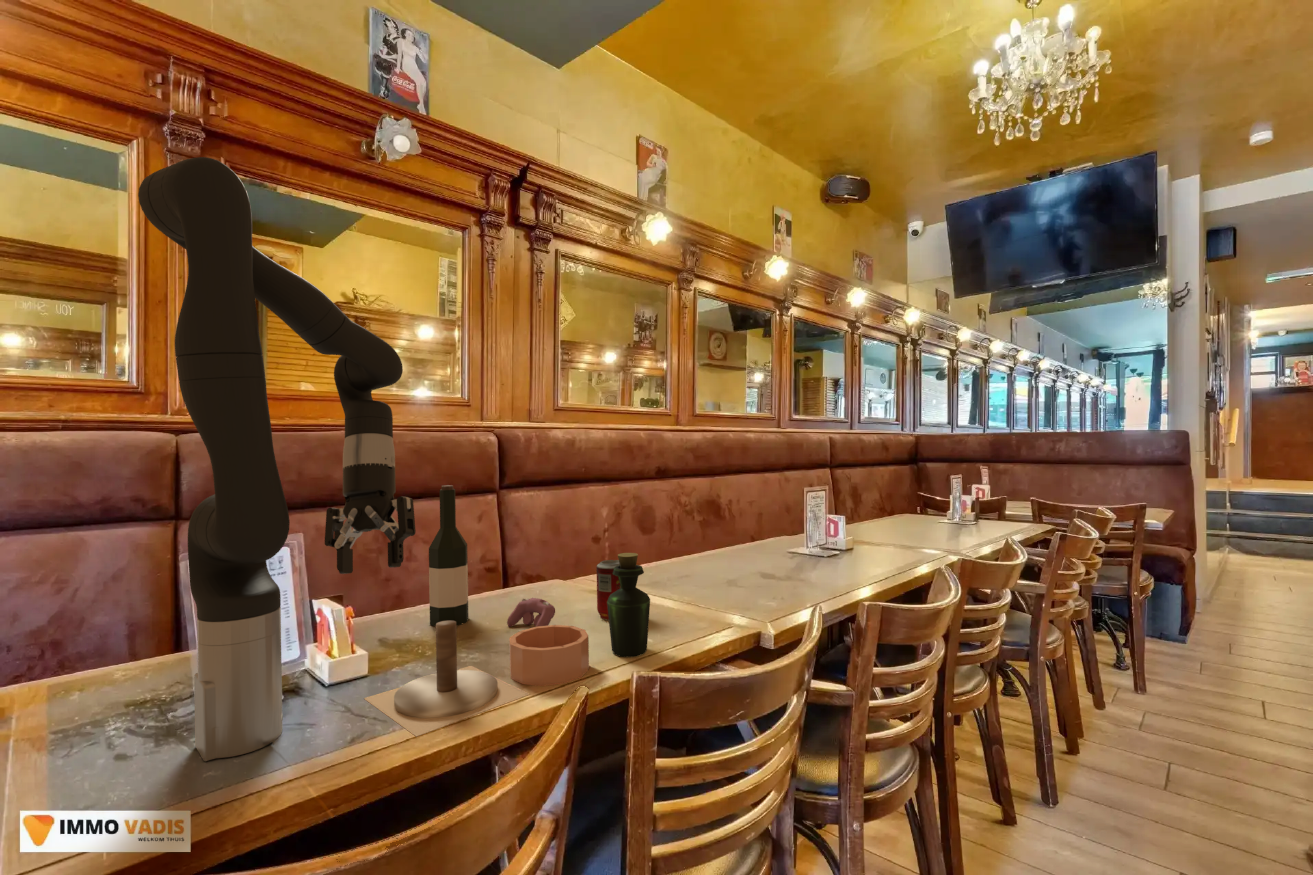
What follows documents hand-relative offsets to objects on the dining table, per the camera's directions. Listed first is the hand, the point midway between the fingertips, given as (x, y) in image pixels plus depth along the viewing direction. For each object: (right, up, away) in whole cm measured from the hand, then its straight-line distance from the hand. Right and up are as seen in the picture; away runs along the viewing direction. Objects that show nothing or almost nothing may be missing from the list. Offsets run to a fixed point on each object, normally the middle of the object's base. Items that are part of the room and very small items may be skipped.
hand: (370, 570), depth 93 cm
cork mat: (+11, -20, +1) cm, 23 cm away
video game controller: (+17, -20, +37) cm, 45 cm away
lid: (+11, -20, +1) cm, 23 cm away
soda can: (+34, -20, +43) cm, 58 cm away
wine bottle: (-2, -21, +42) cm, 46 cm away
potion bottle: (+39, -20, +20) cm, 48 cm away
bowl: (+25, -20, +11) cm, 34 cm away
